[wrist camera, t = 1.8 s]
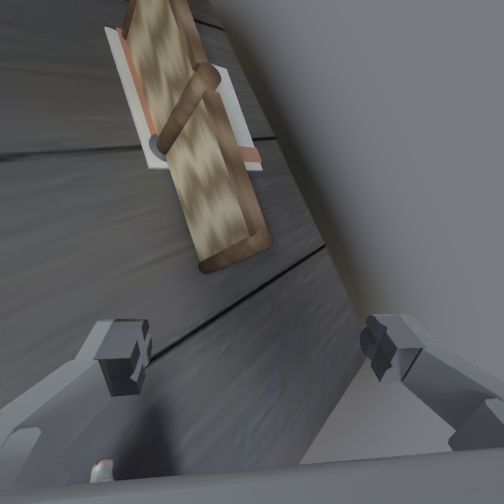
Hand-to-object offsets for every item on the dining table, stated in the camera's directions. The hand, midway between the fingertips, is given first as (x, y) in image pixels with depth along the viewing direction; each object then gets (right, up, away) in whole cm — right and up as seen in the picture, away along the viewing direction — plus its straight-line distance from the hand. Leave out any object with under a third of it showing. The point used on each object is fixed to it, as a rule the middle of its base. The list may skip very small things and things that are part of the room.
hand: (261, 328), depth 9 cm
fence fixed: (-15, +25, +27) cm, 40 cm away
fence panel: (-9, +8, +25) cm, 27 cm away
